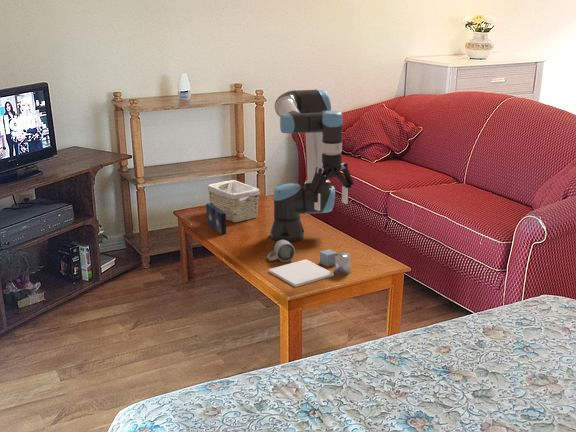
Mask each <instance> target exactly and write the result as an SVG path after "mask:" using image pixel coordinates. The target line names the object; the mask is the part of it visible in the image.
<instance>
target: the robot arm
mask: <svg viewBox="0 0 576 432" xmlns="http://www.w3.org/2000/svg"><path fill="white" fill-rule="evenodd" d="M331 104H332V103H331V98H330V95H329V93H328V92H327V91H326V90H324V89H316V88H315V89H306V90H305V89H302V90H295V89H294V90H289V91H287V92H283V93H282V94H280V95H279V96H278V97H277V98H276V100H275V101H274V111H275V112H276V115H277V116H278V117H279V127H280V128H279V129H280V133H282V134H288V135H289V134H303V133H305V147H306V148H305V150H306V152H305V153H306V171H307V172H306V173H307V180H305V182H304V184H303V185H304V186H303V187H302V186H301V185H300V184H299V183H290V182H289V183H284V184H281V185H279V186H276V187H275V189H274V191H273V222H272V226H271V230H270V238H271V239H272V240H273V241H276V242H278V241H279V240H287V241H288V242H290V243H291V242H298V241H301V240H303V239H304V238H305V229H304V227H303V224H302V220H301V215H302V214H304V215H305V214H323V213H324V214H327V213H331V212H332V211H333V208H334V206H335V199H336V191H335V190H336V188H335V186H334V185H332V184H331V181H330V180H329V179H332V178H334V177H335V178H337V179H338V180H339V181H340V182H341V184H342V185H343V186H342V187H341V203H342V204H345V205H348V201H349V195H350V188H352V186H353V185H354V181H353V178H352V175H351V173H350V171H349V166H348V163H347V162H343V154H342V152H343V125H344V124H343V123H344V120H343V113H342V112H341V111H337V110H332V105H331ZM341 171H342V172H341Z"/></svg>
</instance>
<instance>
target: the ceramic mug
mask: <svg viewBox="0 0 576 432" xmlns="http://www.w3.org/2000/svg"><path fill="white" fill-rule="evenodd" d="M273 248H274V249H273V251H270V253H268V255H267V259H268V260H269V261H270V262H271V261H272V262H273V261H275V260H279V261H280V262H283V263H288V262H289V263H290V262H291V261H292V260H293V259H294V257H295V256H296V249H295V247H294V246H293V244H292V243H291V242H288V241H287V240H279V241H276V243H275V244H274V247H273Z"/></svg>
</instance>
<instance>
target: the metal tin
mask: <svg viewBox="0 0 576 432" xmlns="http://www.w3.org/2000/svg"><path fill="white" fill-rule="evenodd" d="M351 258H352V256H351V253H348V252H337V253H336V254H335V265H334V274H336V275H338V276H347V275H350V274H351V262H352V261H351Z"/></svg>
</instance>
